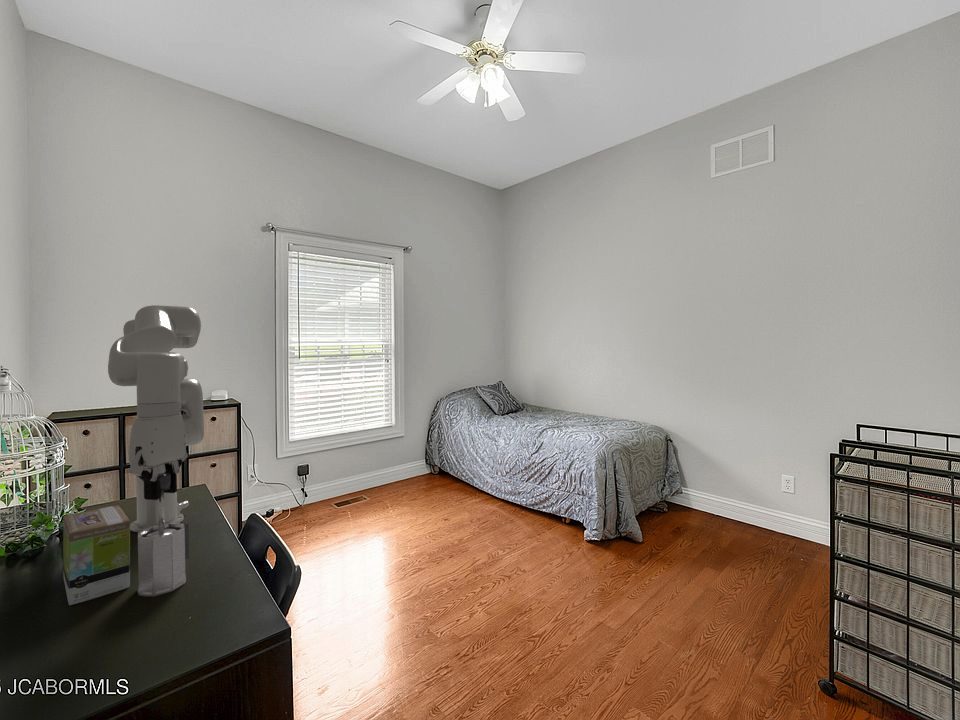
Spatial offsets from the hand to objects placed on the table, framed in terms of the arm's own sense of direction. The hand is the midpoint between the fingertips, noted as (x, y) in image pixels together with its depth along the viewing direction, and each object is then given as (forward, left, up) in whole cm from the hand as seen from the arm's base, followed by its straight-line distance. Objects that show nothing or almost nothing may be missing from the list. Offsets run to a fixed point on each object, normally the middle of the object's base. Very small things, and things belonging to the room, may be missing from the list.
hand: (160, 494), depth 93 cm
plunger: (0, 0, -9) cm, 9 cm away
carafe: (-1, 0, -20) cm, 20 cm away
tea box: (+1, -15, -20) cm, 25 cm away
